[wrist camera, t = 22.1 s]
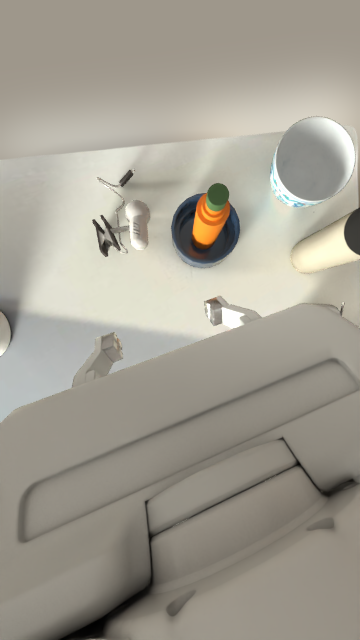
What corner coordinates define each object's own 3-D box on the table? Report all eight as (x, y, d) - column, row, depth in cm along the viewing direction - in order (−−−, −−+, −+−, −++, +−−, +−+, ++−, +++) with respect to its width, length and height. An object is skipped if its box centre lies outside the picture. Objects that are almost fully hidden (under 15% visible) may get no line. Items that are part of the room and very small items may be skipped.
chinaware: (311, 145, 39) (344, 104, 31) (328, 210, 39) (364, 186, 32) (248, 166, 39) (265, 131, 31) (266, 231, 40) (287, 212, 32)
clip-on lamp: (103, 194, 42) (105, 261, 39) (86, 167, 36) (87, 245, 33) (149, 185, 41) (155, 254, 38) (140, 155, 34) (146, 235, 31)
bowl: (166, 261, 40) (165, 255, 35) (179, 200, 39) (179, 186, 35) (225, 274, 40) (231, 270, 36) (239, 214, 39) (246, 201, 35)
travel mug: (307, 280, 40) (410, 257, 22) (282, 258, 40) (367, 217, 22) (330, 254, 40) (452, 210, 22) (305, 232, 40) (409, 168, 22)
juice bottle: (189, 246, 39) (195, 209, 25) (194, 222, 39) (203, 170, 24) (212, 251, 39) (232, 218, 25) (218, 227, 39) (241, 179, 25)
